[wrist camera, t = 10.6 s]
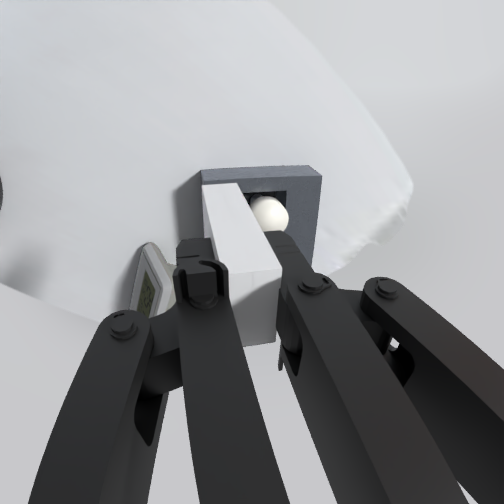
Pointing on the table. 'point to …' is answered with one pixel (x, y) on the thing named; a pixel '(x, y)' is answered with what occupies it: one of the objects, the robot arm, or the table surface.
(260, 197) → the knob inner
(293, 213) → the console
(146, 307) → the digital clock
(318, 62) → the table surface
